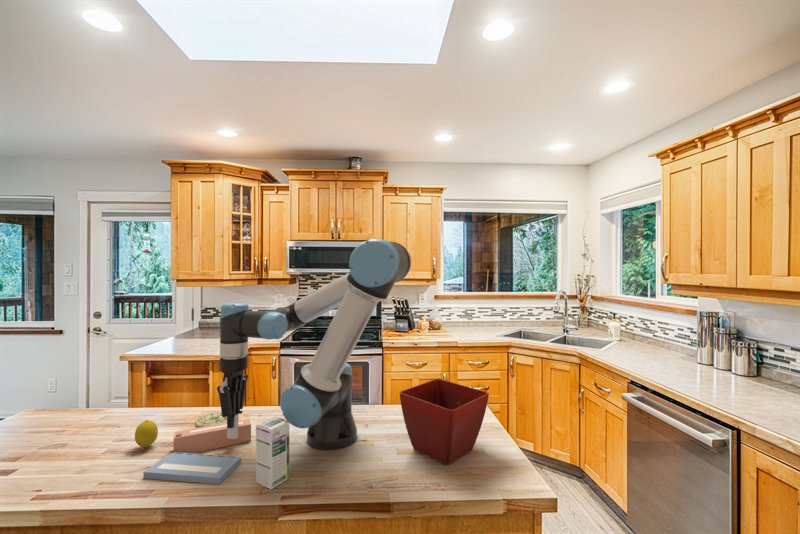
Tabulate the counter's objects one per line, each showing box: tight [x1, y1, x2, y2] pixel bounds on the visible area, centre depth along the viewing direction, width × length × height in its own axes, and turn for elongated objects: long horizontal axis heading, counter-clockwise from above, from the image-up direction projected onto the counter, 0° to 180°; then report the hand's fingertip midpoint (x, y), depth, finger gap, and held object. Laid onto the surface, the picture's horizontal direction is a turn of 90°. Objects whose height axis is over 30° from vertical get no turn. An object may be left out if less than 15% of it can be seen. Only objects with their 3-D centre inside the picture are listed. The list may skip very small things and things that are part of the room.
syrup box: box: [255, 416, 291, 490], centre depth 93 cm, size 6×6×14 cm
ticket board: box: [143, 451, 242, 485], centre depth 97 cm, size 20×10×2 cm, turn 84°
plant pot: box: [399, 378, 490, 466], centre depth 109 cm, size 19×19×17 cm
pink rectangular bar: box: [172, 418, 252, 453], centre depth 111 cm, size 20×4×5 cm, turn 118°
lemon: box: [134, 419, 159, 449], centre depth 108 cm, size 6×6×8 cm
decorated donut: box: [194, 411, 227, 428], centre depth 122 cm, size 10×11×4 cm
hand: (232, 437), depth 110 cm, fingers closed
